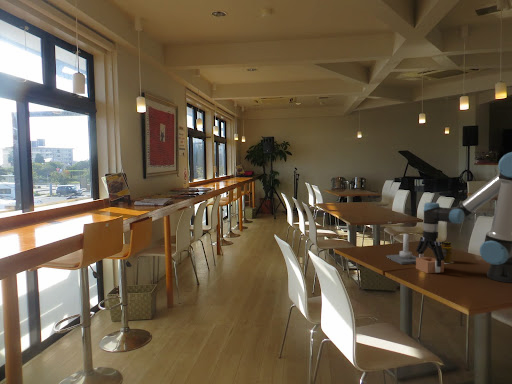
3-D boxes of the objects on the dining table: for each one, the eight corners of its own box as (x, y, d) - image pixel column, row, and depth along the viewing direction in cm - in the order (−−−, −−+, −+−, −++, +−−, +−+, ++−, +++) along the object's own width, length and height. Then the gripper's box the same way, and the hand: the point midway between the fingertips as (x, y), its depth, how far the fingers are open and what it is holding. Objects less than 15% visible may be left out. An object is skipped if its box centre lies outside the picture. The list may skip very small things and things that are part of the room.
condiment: (454, 262, 222) (455, 242, 221) (444, 264, 218) (445, 244, 218) (443, 259, 229) (444, 240, 228) (434, 261, 225) (434, 241, 224)
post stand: (425, 262, 222) (426, 236, 221) (401, 264, 219) (402, 237, 217) (409, 256, 238) (409, 231, 236) (386, 257, 234) (386, 232, 233)
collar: (443, 272, 203) (444, 261, 202) (427, 273, 201) (427, 262, 200) (431, 267, 213) (431, 256, 212) (415, 268, 210) (416, 257, 210)
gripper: (453, 234, 194) (451, 274, 195) (421, 226, 218) (420, 262, 220) (440, 235, 192) (438, 275, 194) (410, 227, 216) (409, 262, 218)
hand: (429, 268), depth 207 cm, fingers open, 13 cm apart
